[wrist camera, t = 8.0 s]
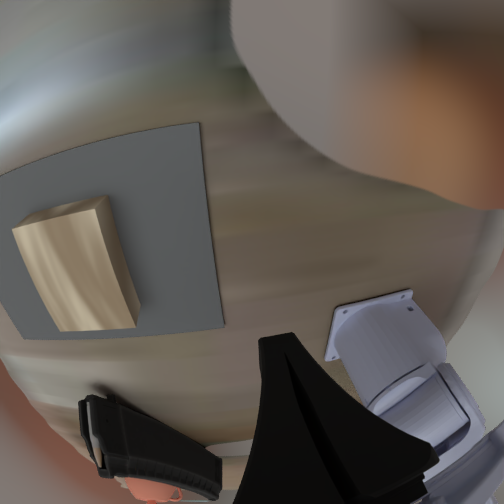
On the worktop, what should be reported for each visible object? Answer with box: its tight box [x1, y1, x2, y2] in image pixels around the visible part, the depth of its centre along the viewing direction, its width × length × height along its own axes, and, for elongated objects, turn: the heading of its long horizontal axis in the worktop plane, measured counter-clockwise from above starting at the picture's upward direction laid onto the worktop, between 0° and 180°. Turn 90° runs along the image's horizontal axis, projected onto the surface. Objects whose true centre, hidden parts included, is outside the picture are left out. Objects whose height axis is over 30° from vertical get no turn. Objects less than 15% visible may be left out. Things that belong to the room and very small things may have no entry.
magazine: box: [78, 394, 222, 501], centre depth 28 cm, size 17×3×30 cm
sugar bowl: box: [125, 477, 183, 504], centre depth 40 cm, size 12×14×10 cm
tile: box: [12, 195, 141, 332], centre depth 16 cm, size 2×9×7 cm
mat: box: [0, 122, 224, 340], centre depth 17 cm, size 22×16×1 cm
